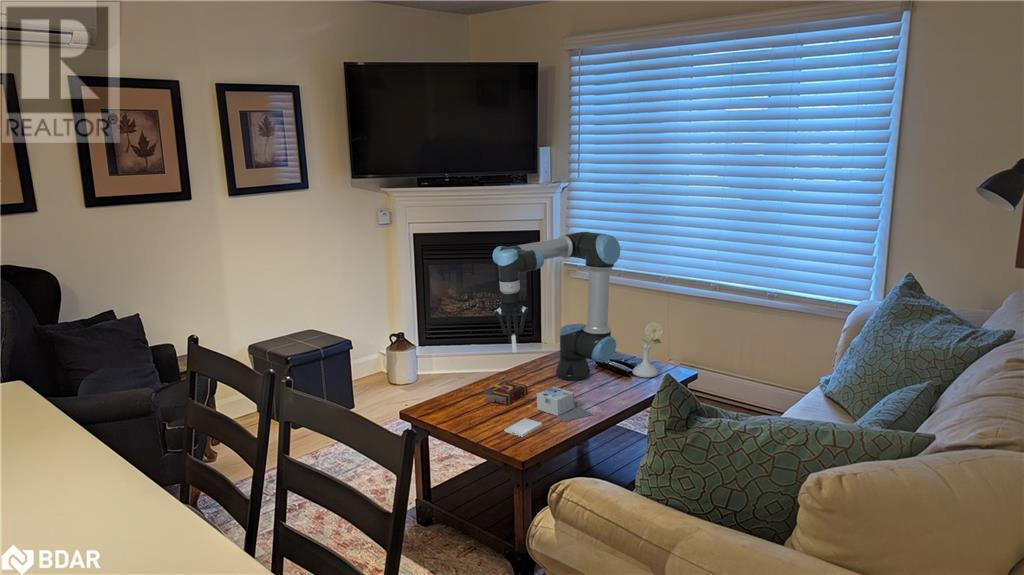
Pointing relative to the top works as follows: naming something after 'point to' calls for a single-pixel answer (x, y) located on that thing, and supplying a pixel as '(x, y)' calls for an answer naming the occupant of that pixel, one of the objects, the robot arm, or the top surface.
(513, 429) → the hard drive
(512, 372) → the top surface
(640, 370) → the flower in vase
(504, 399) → the decorative book
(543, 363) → the top surface
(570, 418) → the felt mat
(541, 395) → the light bulb box
